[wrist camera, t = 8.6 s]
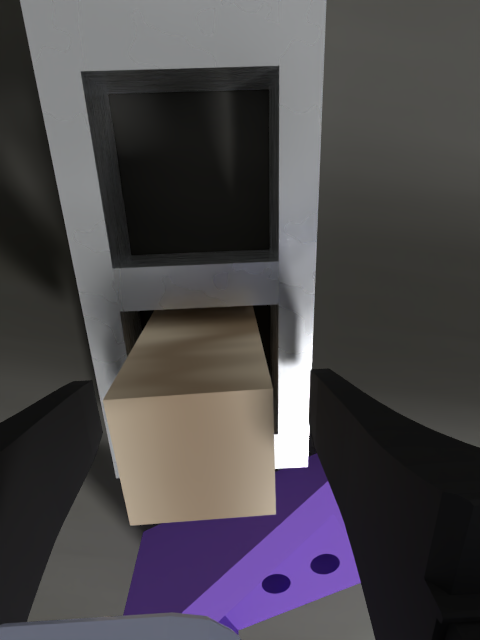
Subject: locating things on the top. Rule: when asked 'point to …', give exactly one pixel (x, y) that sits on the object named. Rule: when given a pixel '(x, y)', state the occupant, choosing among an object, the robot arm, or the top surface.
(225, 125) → the top surface
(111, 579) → the top surface
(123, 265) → the grey rectangular frame
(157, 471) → the peg
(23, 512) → the robot arm
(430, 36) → the top surface
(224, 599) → the bracket
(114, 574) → the top surface
